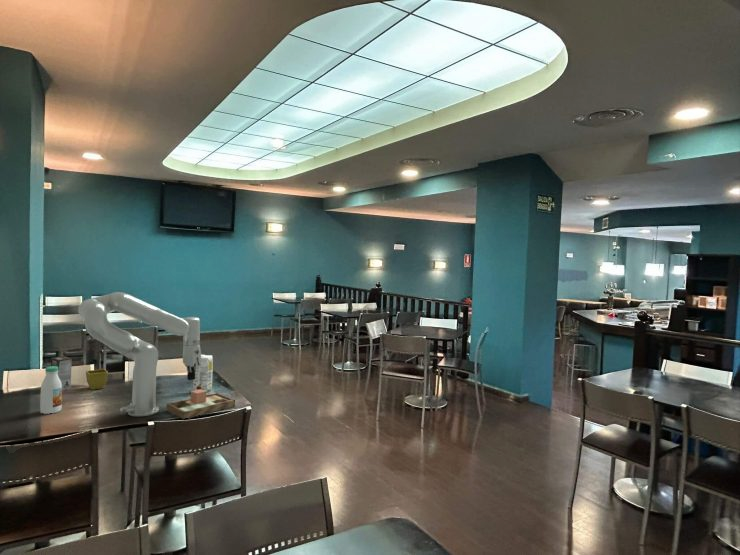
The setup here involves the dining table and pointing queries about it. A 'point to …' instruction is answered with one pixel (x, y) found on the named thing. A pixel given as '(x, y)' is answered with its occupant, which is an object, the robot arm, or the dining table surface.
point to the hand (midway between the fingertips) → (191, 379)
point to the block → (198, 396)
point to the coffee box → (63, 370)
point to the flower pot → (96, 378)
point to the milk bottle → (51, 392)
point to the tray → (200, 406)
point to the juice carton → (204, 374)
